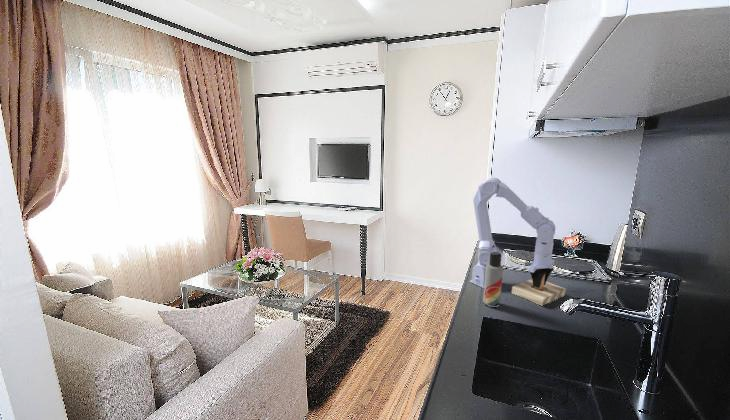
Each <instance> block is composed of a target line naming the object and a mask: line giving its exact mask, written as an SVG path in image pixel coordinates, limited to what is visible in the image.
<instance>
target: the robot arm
mask: <svg viewBox="0 0 730 420" xmlns="http://www.w3.org/2000/svg"><path fill="white" fill-rule="evenodd" d="M474 195H475V196H473V207H474V214H475V220H476V227H477V232H478V233H477V234H478V239H479V240H478V241H479V243H478V253H477V261H478V262H477V263H476V265H474V266H473V267H472V269H471V279H470V280H469V282H470V283H472V284H474V285H476V286H478V287H481V288H482V289H484V285H485V273H486V265H487V264H488V263H489V261H490V253H493V252H498V253H499V250H498V248H497V247H496V244H495V241H494V239H493V234H492V228H491V222H490V214H489V208H488V201H489V200H490V199H491V198H492V196H494V195H495V197H497V198H503V199H505V200H506V201H508V202H509V203H510V205H512V206H514V207H515V208H516V209H517V210H518V211H519V212H520V217H521V218H522V219H523V220H524V221H525V222H526V223H527V224H528V225H529V226H530V227H531V228H533V229H534V230H535V231H536V234H537V235H536V240H535V247H534V256H533V261H532V262H531V264H529V265H528V269H527V272H529V273H530V275H531V279H532V280H533V286H535V287H538V288H539V287H540V285H541V281H542V278H543V276H544V275H545V279H544V285H545V284H546V282H548V281H547V280H548V279H549V277H550V275H551V274H552V272H554V265H555V259H552V256H553V255H552V254H553V249H554V240H555V237H554V236H555V234H556V225H555V223H554V222H553V220H550V218H549V217H546V216H545V215H543V214H542V212H540V211H539V210H540V208H538V207H535V206H533V205H527V204H526V203H525V201H523V200H522V199H521V198H520V197H519V196H518V195H517V194H516V193H515V192H514V191H513V190H512V189H511V188H510V187H509V186H508V185H507V184H506V183H504V182H502V181H501V180H500V179H499V178H497V177H490V178H489V179H485V180H484V181H483V182H482V183H481V184H479V185H478V188H477V190H476V193H475V194H474Z"/></svg>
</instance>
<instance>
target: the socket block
mask: <svg viewBox="0 0 730 420" xmlns="http://www.w3.org/2000/svg"><path fill="white" fill-rule="evenodd" d="M566 289H567V288H565V287H562V286H560V285H557V284H554V283H550V282H549V281H546V284H545V285H544V287H543V291H539V290H537V289H534V286H533V280H532V278H531V279H527V280H526V281H522V282H521V283H518V284H516V285H513V286H511V294H512V295H513V294H515V295H514V296H516V295H517V296H516V297H518V296H520V297H523V298H525V299H528V300H530V301H532V302H534V303H536V304H539V305H541V306H543V305H545V304H547V303H549V302H551V301H553V302H555V301H557V300H559V299H561V298H563V297H565V296H566V295H565V294H566ZM520 297H519V298H520ZM560 297H561V298H560ZM558 298H559V299H558ZM525 299H524V300H525ZM556 299H557V300H556ZM554 300H555V301H554ZM532 302H531V303H532ZM534 303H533V304H534ZM551 303H552V302H551ZM536 304H535V305H536ZM549 304H550V303H549ZM539 305H538V306H539ZM547 305H548V304H547ZM541 306H540V307H541ZM545 306H546V305H545ZM543 307H544V306H543Z"/></svg>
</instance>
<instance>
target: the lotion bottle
mask: <svg viewBox="0 0 730 420" xmlns="http://www.w3.org/2000/svg"><path fill="white" fill-rule="evenodd" d="M502 257H503V256H502V253H501V252H499V251H498V252H493V253H490V261H489V263H488V264H487V265H486V273H485V285H484V288H483V299H482V303H483V302H484V303H485V304H487V305H491V306H497V305H499V304H501V297H502V295H501V294H502V283H503V275H504V266H503V265H502ZM499 306H500V305H499Z"/></svg>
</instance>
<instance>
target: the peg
mask: <svg viewBox="0 0 730 420" xmlns="http://www.w3.org/2000/svg"><path fill="white" fill-rule="evenodd" d="M544 279H545V275H544V276H543V278H542V281H541V285H540V287H539V288H538V287H535V286H534V289H537V290H539V291H543V287H544Z"/></svg>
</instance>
